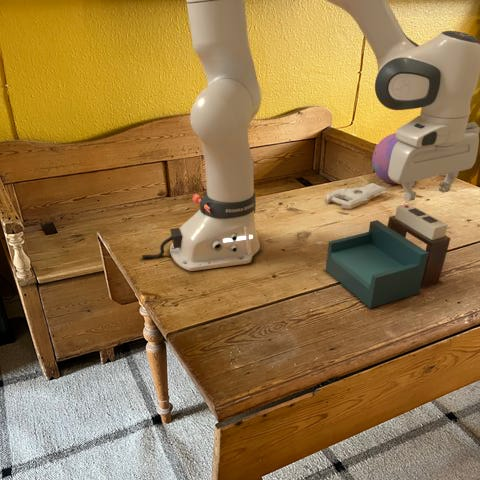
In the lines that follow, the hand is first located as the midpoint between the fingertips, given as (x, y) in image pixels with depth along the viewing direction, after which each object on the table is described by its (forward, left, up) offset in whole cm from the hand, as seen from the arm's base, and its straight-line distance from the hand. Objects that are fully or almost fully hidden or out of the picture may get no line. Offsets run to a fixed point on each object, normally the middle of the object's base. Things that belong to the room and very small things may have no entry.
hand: (426, 195), depth 105 cm
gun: (+12, +39, -19) cm, 45 cm away
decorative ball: (+31, +45, -19) cm, 58 cm away
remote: (0, 0, -7) cm, 7 cm away
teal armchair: (-11, 0, -18) cm, 21 cm away
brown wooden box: (0, 0, -18) cm, 18 cm away
